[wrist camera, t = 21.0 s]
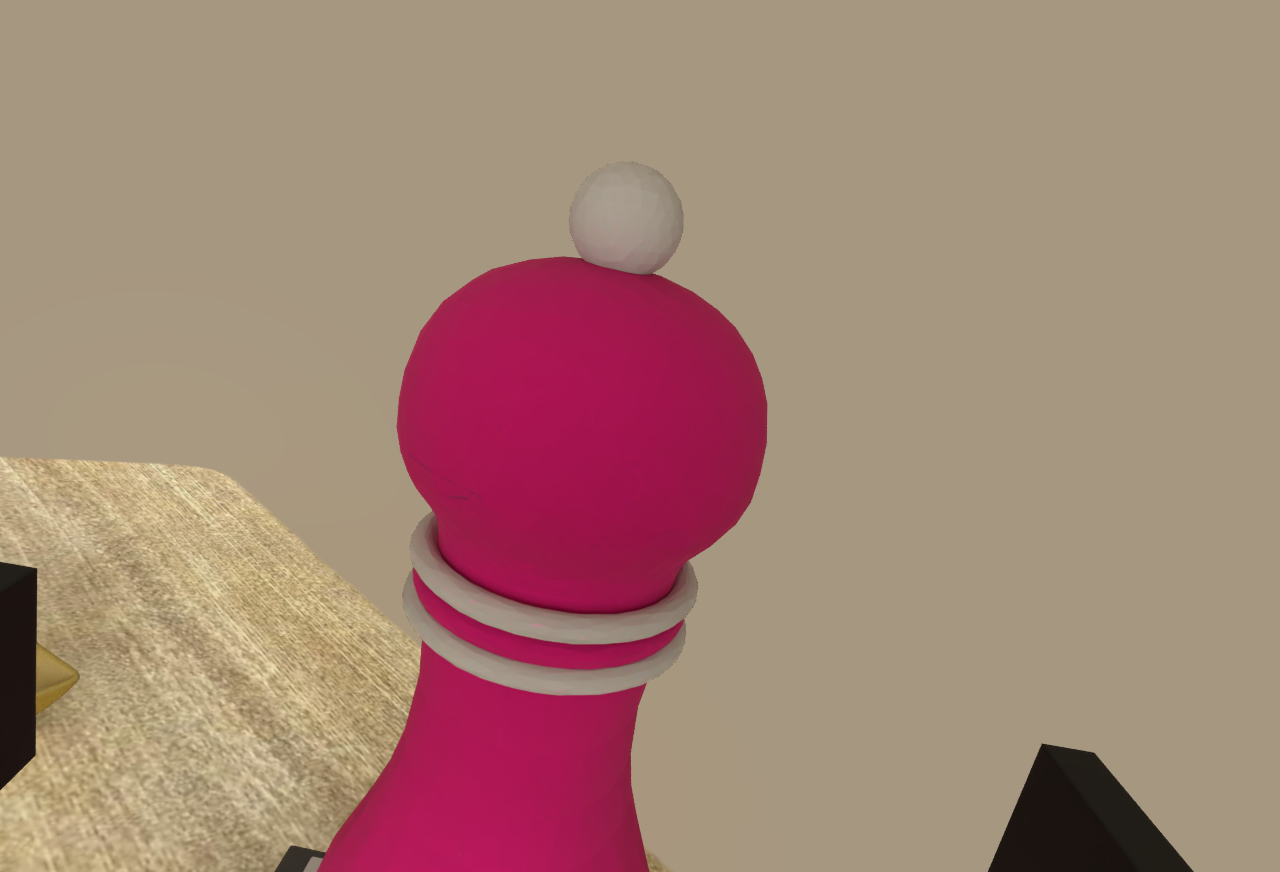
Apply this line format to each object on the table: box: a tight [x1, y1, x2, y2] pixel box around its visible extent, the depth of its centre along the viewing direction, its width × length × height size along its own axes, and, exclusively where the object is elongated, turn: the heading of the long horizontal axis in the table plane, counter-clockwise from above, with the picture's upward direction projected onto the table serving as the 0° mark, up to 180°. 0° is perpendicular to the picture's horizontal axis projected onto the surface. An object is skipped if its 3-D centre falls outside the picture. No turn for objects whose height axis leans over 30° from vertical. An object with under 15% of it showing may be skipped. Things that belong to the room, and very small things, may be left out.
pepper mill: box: [317, 162, 767, 872], centre depth 15 cm, size 7×7×20 cm
